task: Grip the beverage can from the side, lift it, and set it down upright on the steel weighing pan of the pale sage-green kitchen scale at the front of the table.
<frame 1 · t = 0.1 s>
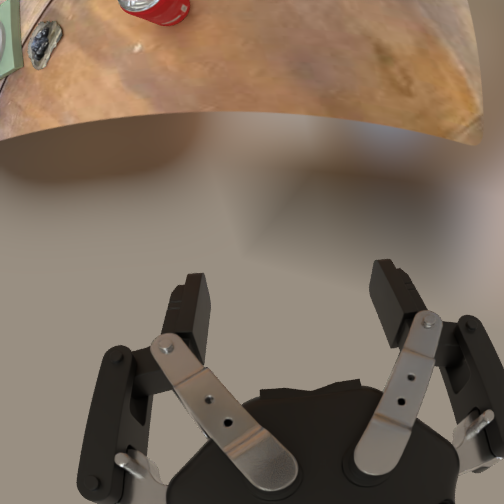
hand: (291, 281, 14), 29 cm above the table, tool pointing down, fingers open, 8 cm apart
beverage can: (171, 9, 28), on the table
geode: (45, 45, 28), on the table
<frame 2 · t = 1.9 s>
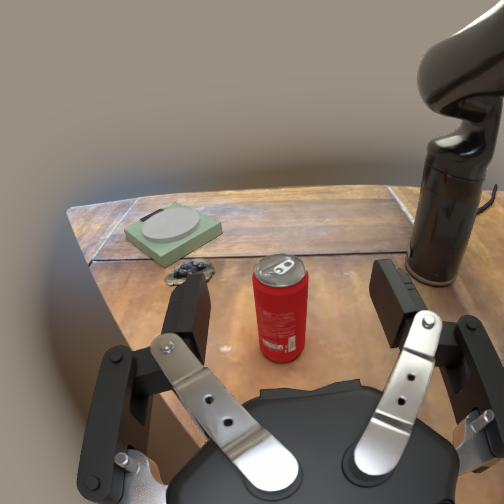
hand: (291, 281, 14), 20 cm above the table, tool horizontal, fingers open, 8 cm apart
beverage can: (282, 348, 35), on the table
geode: (189, 276, 47), on the table
scale: (171, 236, 57), on the table
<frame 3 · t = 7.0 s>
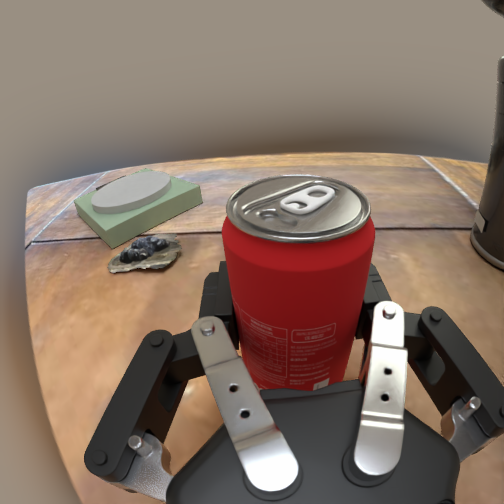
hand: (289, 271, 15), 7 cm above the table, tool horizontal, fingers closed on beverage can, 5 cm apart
beverage can: (293, 392, 17), on the table, touching gripper
geode: (144, 259, 29), on the table
scale: (133, 208, 39), on the table
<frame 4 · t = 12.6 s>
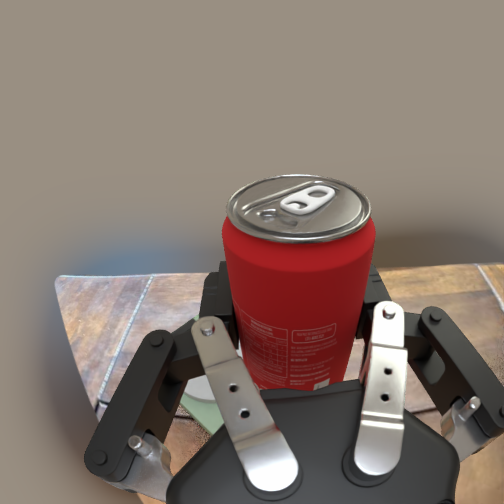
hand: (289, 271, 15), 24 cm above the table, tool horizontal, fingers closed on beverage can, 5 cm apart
beverage can: (293, 392, 17), point 17 cm above the table, touching gripper
scale: (215, 370, 37), on the table
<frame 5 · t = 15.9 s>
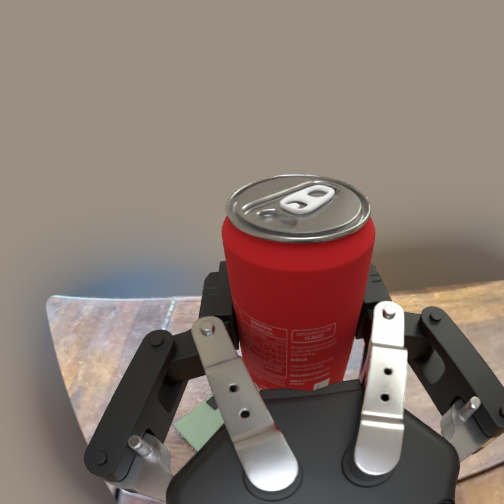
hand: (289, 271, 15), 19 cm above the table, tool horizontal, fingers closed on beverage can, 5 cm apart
beverage can: (293, 392, 17), point 12 cm above the table, touching gripper
scale: (284, 440, 24), on the table
when the fingers open (10 cm above the table, at t = 18.6 s): beverage can stays where it is, resting on scale.
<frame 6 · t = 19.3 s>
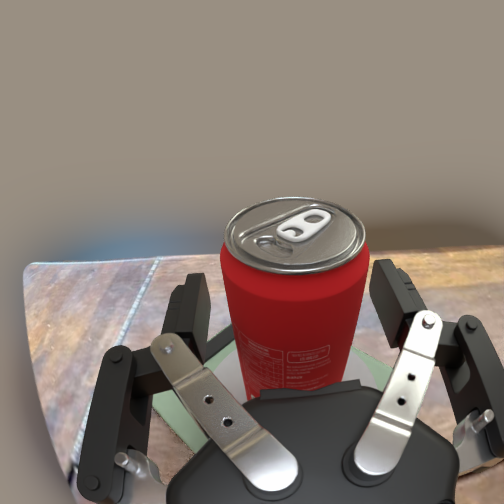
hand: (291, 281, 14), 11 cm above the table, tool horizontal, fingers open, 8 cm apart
beverage can: (291, 401, 17), point 3 cm above the table, touching scale
scale: (282, 413, 19), on the table
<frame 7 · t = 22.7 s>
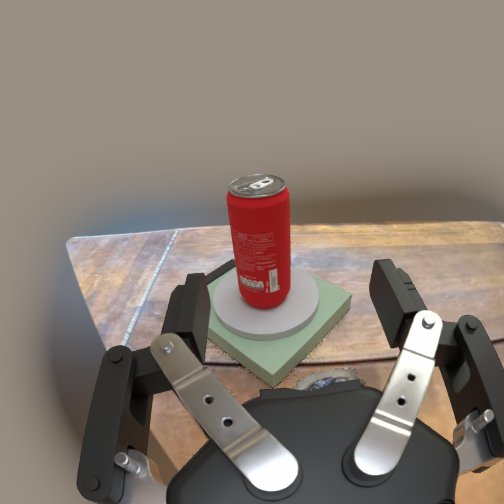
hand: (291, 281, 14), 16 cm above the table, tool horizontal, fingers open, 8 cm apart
beverage can: (265, 295, 32), point 3 cm above the table, touching scale
geode: (326, 404, 24), on the table
scale: (261, 312, 34), on the table
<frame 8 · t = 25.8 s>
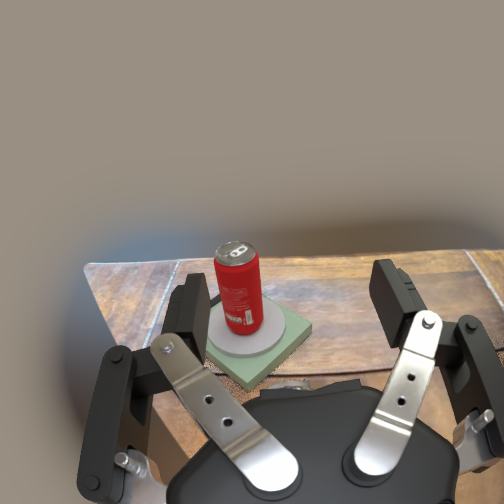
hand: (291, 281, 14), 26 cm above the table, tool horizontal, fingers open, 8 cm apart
beverage can: (245, 324, 42), point 3 cm above the table, touching scale
geode: (286, 405, 34), on the table
scale: (244, 335, 44), on the table
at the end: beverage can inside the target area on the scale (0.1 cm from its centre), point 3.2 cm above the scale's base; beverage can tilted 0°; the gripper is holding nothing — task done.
